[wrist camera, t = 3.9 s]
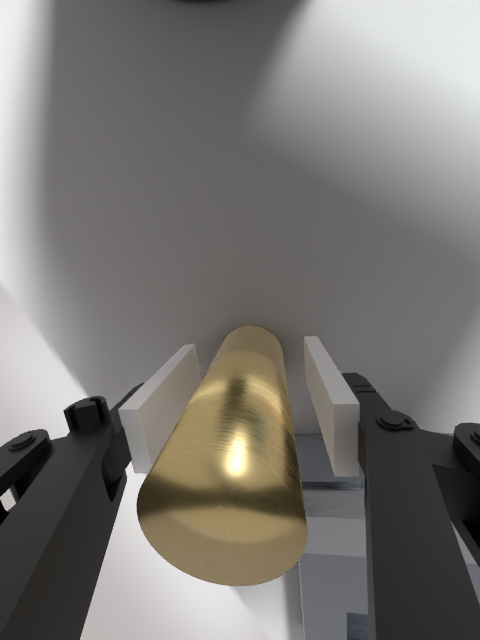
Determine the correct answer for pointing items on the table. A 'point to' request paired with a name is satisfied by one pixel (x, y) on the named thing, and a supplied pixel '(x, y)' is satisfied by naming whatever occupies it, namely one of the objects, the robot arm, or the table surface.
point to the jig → (338, 548)
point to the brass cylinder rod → (230, 472)
